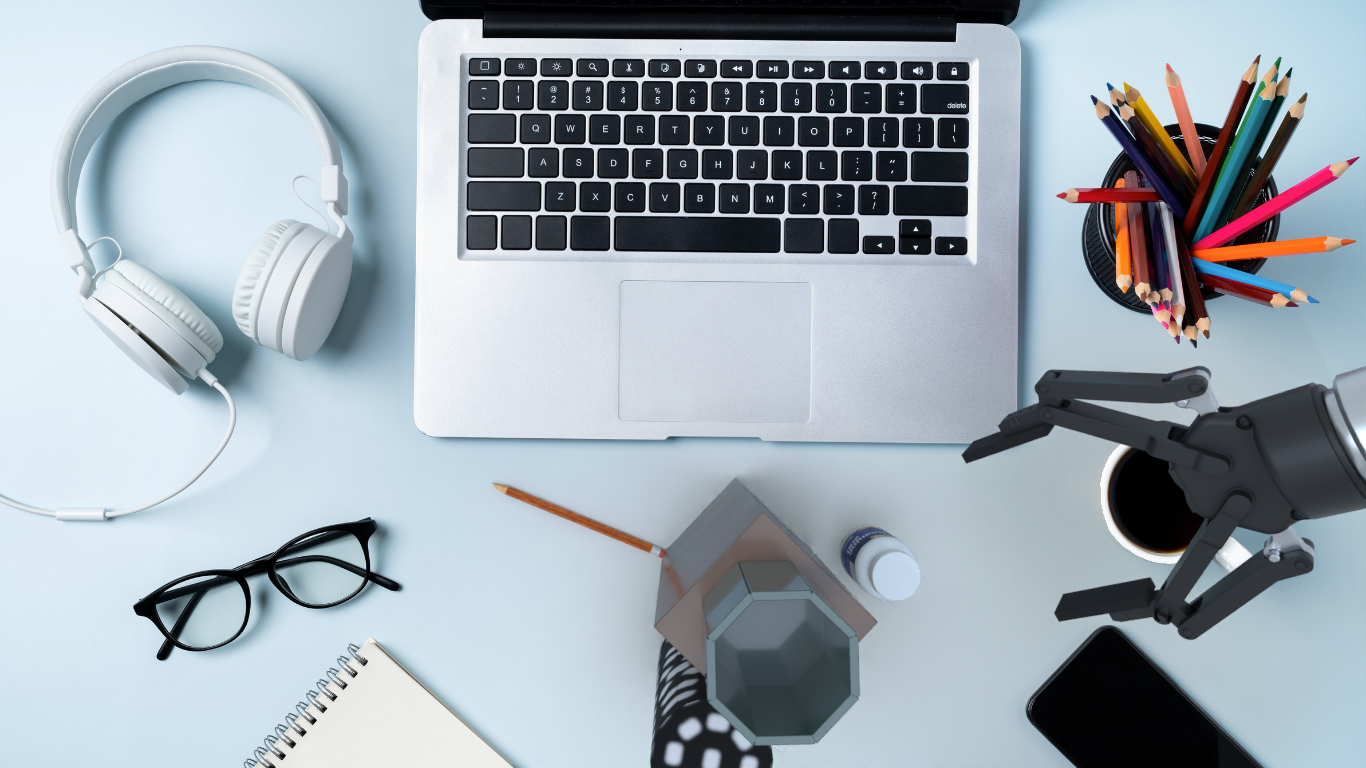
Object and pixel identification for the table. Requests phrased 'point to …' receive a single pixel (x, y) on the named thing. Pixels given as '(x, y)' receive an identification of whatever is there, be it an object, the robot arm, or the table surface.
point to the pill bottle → (880, 563)
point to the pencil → (580, 520)
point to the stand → (715, 547)
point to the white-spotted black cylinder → (695, 723)
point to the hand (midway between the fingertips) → (1014, 529)
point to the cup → (777, 654)
